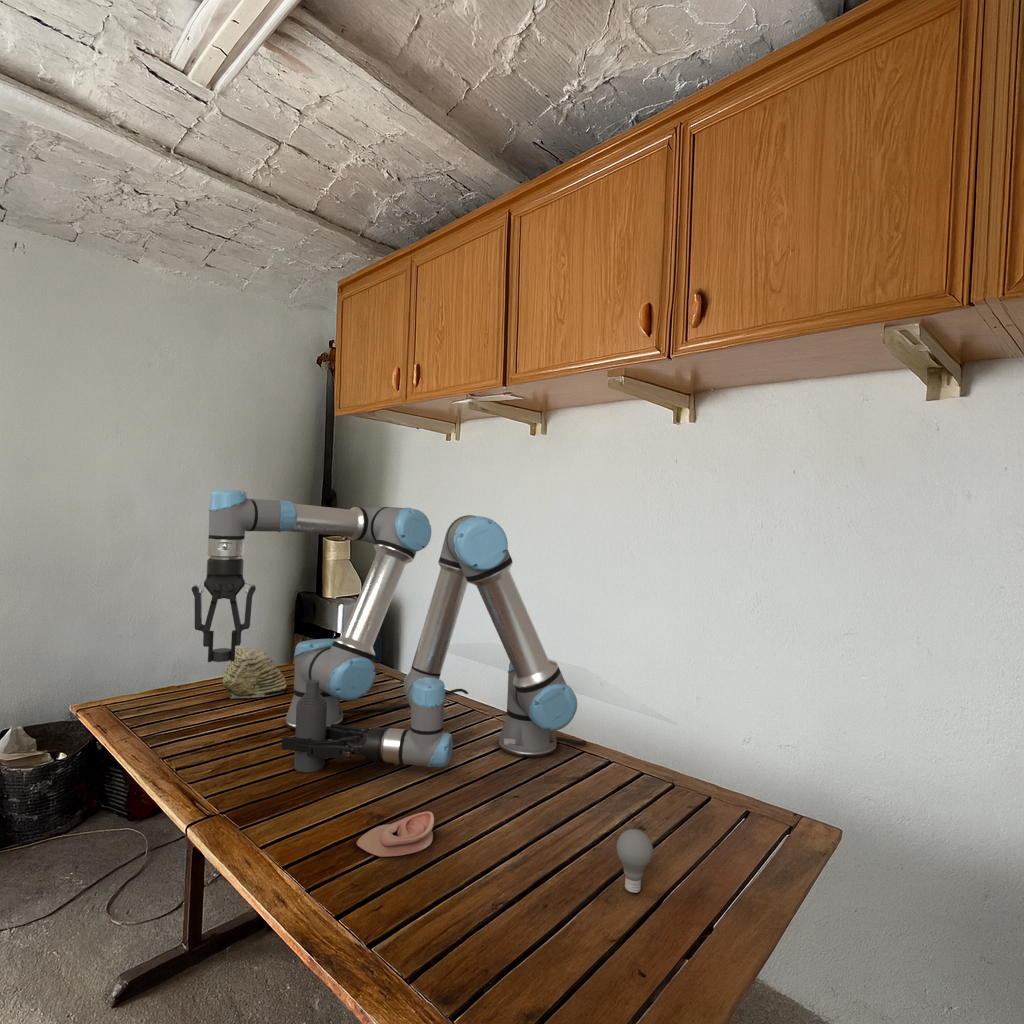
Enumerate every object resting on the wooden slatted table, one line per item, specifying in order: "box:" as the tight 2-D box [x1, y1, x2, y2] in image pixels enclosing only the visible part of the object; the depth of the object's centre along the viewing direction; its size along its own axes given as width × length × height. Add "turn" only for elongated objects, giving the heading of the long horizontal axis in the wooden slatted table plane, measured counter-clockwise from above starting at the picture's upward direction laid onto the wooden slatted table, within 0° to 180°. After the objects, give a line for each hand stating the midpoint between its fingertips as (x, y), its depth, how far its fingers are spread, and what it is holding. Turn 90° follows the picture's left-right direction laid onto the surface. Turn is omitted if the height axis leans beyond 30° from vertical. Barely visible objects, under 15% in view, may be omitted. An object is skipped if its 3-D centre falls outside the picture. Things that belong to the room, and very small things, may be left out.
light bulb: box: [615, 828, 654, 894], centre depth 106 cm, size 6×6×10 cm
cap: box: [212, 647, 231, 663], centre depth 144 cm, size 4×4×2 cm
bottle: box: [293, 680, 327, 773], centre depth 148 cm, size 7×7×20 cm
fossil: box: [222, 646, 288, 699], centre depth 198 cm, size 9×18×15 cm, turn 132°
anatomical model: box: [356, 811, 435, 858], centre depth 118 cm, size 13×4×12 cm
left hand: (221, 660), depth 144 cm, fingers closed on cap, 4 cm apart
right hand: (290, 737), depth 149 cm, fingers closed on bottle, 7 cm apart
